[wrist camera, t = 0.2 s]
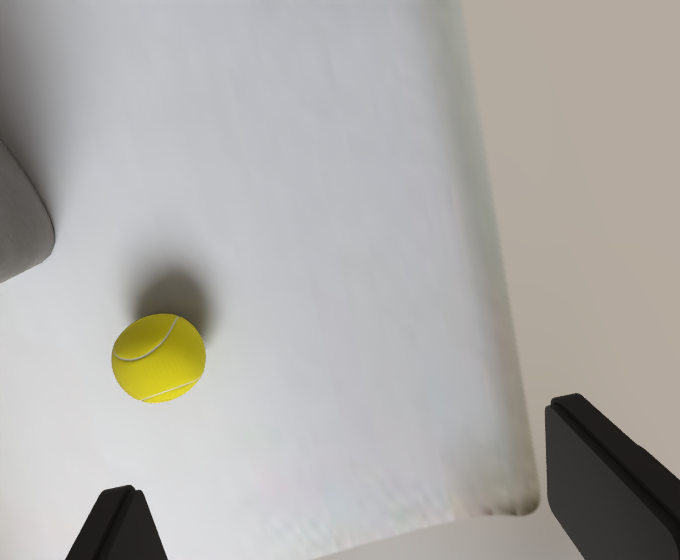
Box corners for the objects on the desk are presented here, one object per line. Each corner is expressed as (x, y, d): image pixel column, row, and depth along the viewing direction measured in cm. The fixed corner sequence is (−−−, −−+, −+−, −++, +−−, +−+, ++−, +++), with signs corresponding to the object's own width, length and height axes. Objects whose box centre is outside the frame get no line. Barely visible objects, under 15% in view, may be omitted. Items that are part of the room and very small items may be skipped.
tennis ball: (224, 359, 42) (211, 401, 35) (151, 385, 42) (125, 432, 36) (191, 291, 40) (171, 321, 33) (115, 318, 40) (79, 354, 33)
